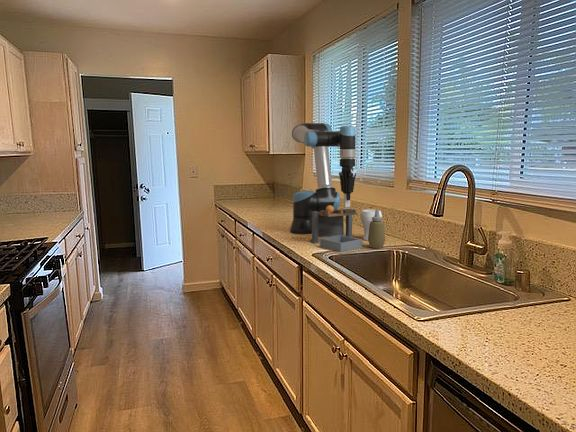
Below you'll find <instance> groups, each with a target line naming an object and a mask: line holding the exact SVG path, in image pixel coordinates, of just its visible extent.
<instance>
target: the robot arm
mask: <svg viewBox="0 0 576 432" xmlns="http://www.w3.org/2000/svg"><path fill="white" fill-rule="evenodd" d="M356 135H357V131H356V126H354V125H342V126H340V127H339V131H337V130H336V131H335V130H333V128H332V126H331V124H329V123H325V122H320V123H319V122H317V123H315V122H314V123H313V122H304V123H299V124H297V125H296V126H294V128H293V129H292V131H291V138H292V139H293V140H294V142H297V143H300V144H304V145H305V146H306V147H310V148H311V149H312V150H313V154H314V164H315V166H314V167H315V174H316V183H317V188H316V189H315V191H314V190H312V189H310V190H300V191H296V192H294V193H293V197H292V209H293V210H292V212H293V213H292V215H293V216H292V218H293V219H292V221H291V224H290V229H289V230H290V231H289V232H290V233H291V234H295V235H296V234H298V235H312V211H317V212H320V211H322V210H326V207H327V206H329V205H331V206H333V208H334V210H339V208H340V205H341V194H340V192H338V191H337V190H336V189H337V188H336V187H335V186H333V181H332V179H333V178H332V170H331V160H330V151H329V148H330V147H333V148H334V147H336V148H339V158H340V159H339V167H341V172H338V175H339V181H340V182H339V183H340V191H341V192H342V193H343V207H344V208H350V207H351V194H352V193H354V189H355V183H356V182H355V181H356V177H357V173H356V172H354V167H356V142H357V141H356V140H357V137H356Z"/></svg>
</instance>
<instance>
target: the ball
mask: <svg viewBox="0 0 576 432" xmlns="http://www.w3.org/2000/svg"><path fill="white" fill-rule="evenodd" d="M326 211H330V213H332V212H333V211H334V208H333V206H331V205H329V206H327V207H326Z"/></svg>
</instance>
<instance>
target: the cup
mask: <svg viewBox="0 0 576 432" xmlns="http://www.w3.org/2000/svg"><path fill="white" fill-rule="evenodd" d="M378 210H379V209H378ZM375 211H376V209H362V210H361V214H360V221H361V224H362V226H363V231H364V232H363V237H362V238H363V239H362V240H364V241H368V234H369V226H370V222H372V217H374V216H375ZM379 215H380V217H382V218H383V214H382V211H381V210H379ZM368 242H369V241H368Z"/></svg>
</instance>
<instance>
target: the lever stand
mask: <svg viewBox="0 0 576 432" xmlns="http://www.w3.org/2000/svg"><path fill="white" fill-rule="evenodd" d="M345 236H348V237H353V238H356V237H354V236H353V215H346V216H345ZM309 243H312V244H320V240H319V237H318V212H317V211H312V234H311V239H309Z"/></svg>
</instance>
